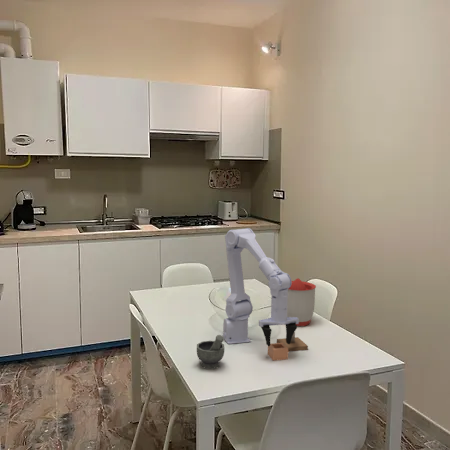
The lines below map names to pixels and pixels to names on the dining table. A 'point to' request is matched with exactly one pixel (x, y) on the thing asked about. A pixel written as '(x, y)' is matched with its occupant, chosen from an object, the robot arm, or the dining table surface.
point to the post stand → (294, 344)
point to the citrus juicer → (301, 301)
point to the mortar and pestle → (211, 352)
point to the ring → (278, 351)
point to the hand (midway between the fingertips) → (278, 344)
